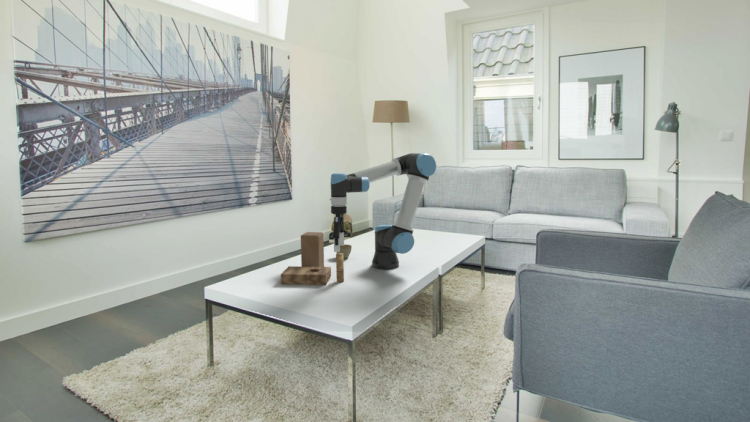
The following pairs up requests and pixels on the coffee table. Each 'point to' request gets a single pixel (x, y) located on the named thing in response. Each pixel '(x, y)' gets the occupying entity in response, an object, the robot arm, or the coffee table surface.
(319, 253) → the block
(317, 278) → the board
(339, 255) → the peg
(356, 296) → the coffee table surface
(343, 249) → the flower pot
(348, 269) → the coffee table surface
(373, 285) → the coffee table surface
